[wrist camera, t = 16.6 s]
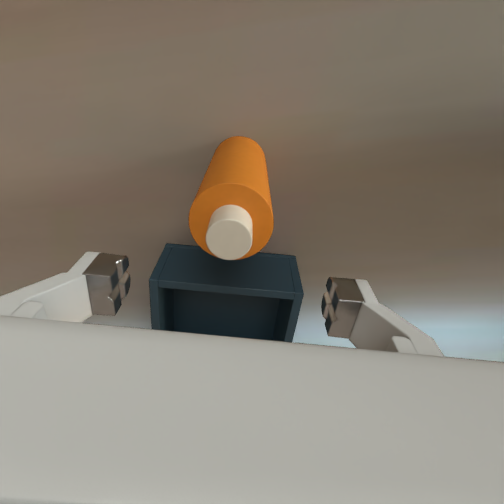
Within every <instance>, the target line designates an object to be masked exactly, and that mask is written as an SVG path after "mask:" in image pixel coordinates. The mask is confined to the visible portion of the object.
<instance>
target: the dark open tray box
mask: <svg viewBox="0 0 504 504" xmlns="http://www.w3.org/2000/svg"><path fill="white" fill-rule="evenodd" d="M149 288H150V306H151V324H152V329H153V330H164V331H175V332H185V333H196V334H207V335H217V336H228V337H239V338H249V339H260V340H271V341H282V342H292V340H293V336H294V332H295V328H296V324H297V319H298V315H299V311H300V307H301V303H302V299H303V295H304V293H303V289H302V284H301V280H300V275H299V271H298V266H297V262H296V257H295V256H291V255H280V254H270V253H260V252H257V253H256V254H254V255H252V256H250V257H247V258H244V259H239V260H224V259H221V258H218V257H215V256H213V255H211V254H209V253H207V252H206V251H204V250H203V249H202V248H201V247H199V246H189V245H179V244H169V243H166V245H165V248H164V250H163V252H162V254H161V256H160V258H159V260H158V262H157V264H156V266H155V268H154V270H153V272H152V274H151V276H150V279H149Z"/></svg>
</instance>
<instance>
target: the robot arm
mask: <svg viewBox="0 0 504 504" xmlns="http://www.w3.org/2000/svg"><path fill="white" fill-rule="evenodd" d="M128 266H129V261H128V257H127V256H123V255H115V254H107V253H100V252H86V253H85V254H84V255H83V256H82V257H81V258H80V259H79V260H78V261H77V262H76V264H75V265H74V266H73V267H72V268H71V269H70V270H69V271H68V272H67V273H60V274H58V275H55V276H53V277H50V278H47V279H45V280H42V281H39V282H37V283H34V284H32V285H29V286H26V287H24V288H21V289H18V290H16V291H13V292H11V293H8V294H5V295H3V296H0V504H504V362H496V361H485V360H474V359H463V358H453V357H444V355H443V353H442V352H441V350H440V349H439V347H438V346H437V344H436V342H435V341H434V339H433V338H431V337H430V336H428V335H427V334H425V333H424V332H422V331H421V330H419V329H418V328H417V327H415V326H414V325H412V324H411V323H409V322H408V321H406V320H405V319H403V318H402V317H400V316H399V315H398V314H396V313H395V312H393V311H392V310H390V309H389V308H387V307H386V306H384V305H383V304H379V303H378V301H377V299H376V297H375V295H374V293H373V291H372V289H371V287H370V285H369V283H368V281H367V280H362V279H347V278H334V277H329V279H328V281H327V284H326V287H327V290H328V291H327V292H326V293H324V295H323V299H322V306H321V308H322V315H323V317H324V318H325V319H326V322H325V327H326V330H327V334H328V336H332V337H340V338H349V340H350V341H351V342H352V343H353V344H354V346H355V347H356V348H346V347H335V346H325V345H314V344H303V343H292V342H282V341H271V340H260V339H249V338H239V337H228V336H217V335H207V334H196V333H185V332H175V331H164V330H153V329H142V328H132V327H121V326H110V325H100V324H89V323H82V322H83V321H85V320H86V319H88V318H89V317H91V316H92V314H96V315H110V316H115V315H116V313H117V311H118V310H119V308H120V306H121V299H123V298H125V297H126V296H127V294H128V291H129V287H130V274H129V273H128V272H127V271H126V269H127V268H128Z"/></svg>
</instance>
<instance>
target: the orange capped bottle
mask: <svg viewBox="0 0 504 504" xmlns="http://www.w3.org/2000/svg"><path fill="white" fill-rule="evenodd" d="M273 225H274V220H273V212H272V204H271V197H270V189H269V182H268V175H267V167H266V160H265V156H264V153H263V151H262V149H261V147H260V146H259V145H258V144H257V143H256V142H255V141H253V140H251V139H249V138H247V137H242V136H236V137H231V138H228V139H226V140H225V141H223V142H222V143H221V144H220V145H219V146H218V147H217V149H216V151H215V153H214V156H213V158H212V160H211V162H210V165H209V167H208V169H207V172H206V174H205V176H204V179H203V181H202V183H201V185H200V188H199V190H198V192H197V195H196V197H195V199H194V202H193V204H192V206H191V209H190V213H189V227H190V231H191V234H192V236H193V238H194V240H195V241H196V242H197V244H198V245H199V246H200V247H201V248H202V249H203V250H204V251H206V252H207V253H209V254H211V255H213V256H215V257H218V258H221V259H224V260H239V259H244V258H247V257H250V256H252V255H254V254H256V253H257V252H259V251H260V250H261V249H262V248H263V247H264V246H265V245H266V244H267V242H268V241H269V239H270V237H271V234H272V231H273Z"/></svg>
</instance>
